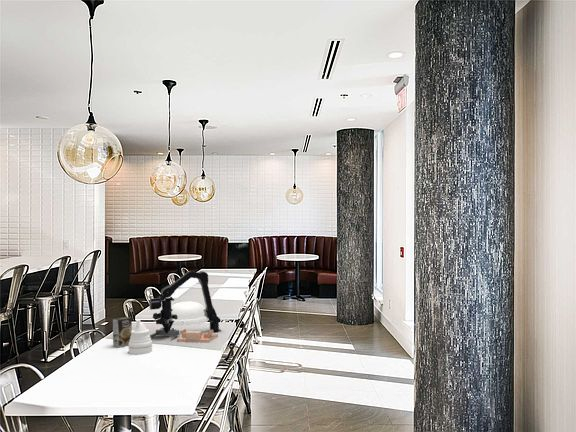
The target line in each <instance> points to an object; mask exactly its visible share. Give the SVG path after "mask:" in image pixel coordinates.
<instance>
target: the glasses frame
mask: <svg viewBox="0 0 576 432" xmlns="http://www.w3.org/2000/svg"><path fill="white" fill-rule="evenodd" d="M149 335H150V338H151V339H152V338H154V337H156V336H170V338H169V339H174V338H176V337H178V336H180V330H178V329H177V328H175V327H173V328H172V327H171V329H170V330H168V333H165V330H164V327H160V328H159V329H155V332H154V333H152V334H149Z"/></svg>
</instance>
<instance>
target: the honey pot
mask: <svg viewBox="0 0 576 432" xmlns="http://www.w3.org/2000/svg"><path fill="white" fill-rule="evenodd" d="M135 323H136V324H135V325H134V328H132V331H131V333H132V335H131V337H130V342H129V345H128V354H129V355H134V356H135V355H146V354H150V353H152V352H153V341H152V338H150V335H151V334H150V329H148V328H147V326H146V325H145V324H144V322H143V321H141V319H136V320H135Z"/></svg>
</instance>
